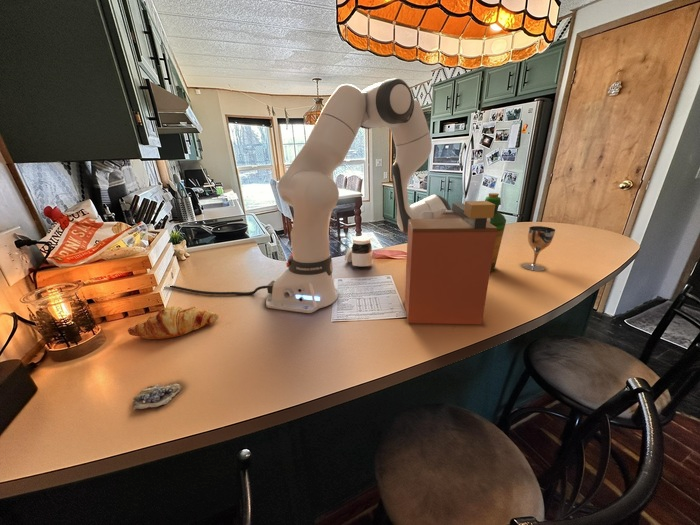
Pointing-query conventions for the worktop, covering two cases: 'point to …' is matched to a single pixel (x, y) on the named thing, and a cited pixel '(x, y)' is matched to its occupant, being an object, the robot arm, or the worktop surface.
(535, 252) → the silver goblet
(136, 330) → the croissant
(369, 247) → the spread jar
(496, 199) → the bottle
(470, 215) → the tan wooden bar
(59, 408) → the worktop surface
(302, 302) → the robot arm
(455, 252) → the stand
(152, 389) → the crystal geode
